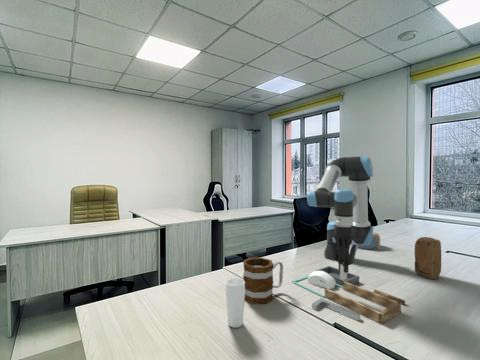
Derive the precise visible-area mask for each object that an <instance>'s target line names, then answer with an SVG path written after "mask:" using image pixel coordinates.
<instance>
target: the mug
mask: <svg viewBox="0 0 480 360" xmlns="http://www.w3.org/2000/svg"><path fill="white" fill-rule="evenodd" d="M242 261H243V276H242V277H243V278H242V280H244V281H245V301H244V302H248V303H250V304H252V305H266V304H267V305H268V304H269V303H270V302H272V301H273V300H274V293H273V289H278V288H280V287H281V286H282V284H283V277H284V276H283V275H284V266H283V265H284V264H283V262H281V261H279V260H277V261H275V262H273V261H272V259H268V258H264V257H250V258H249V257H248V258H247V259H244V260H242ZM278 265H279V272H278V274H279V276H278V282H277V284H274V276H273V275H274V273H273V272H274V271H273V270H274V269H275V268H276V267H277V266H278Z"/></svg>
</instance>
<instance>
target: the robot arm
mask: <svg viewBox="0 0 480 360" xmlns="http://www.w3.org/2000/svg"><path fill="white" fill-rule="evenodd" d="M373 169H374V168H373V162H372V159H371V158H370V157H369V156H347V157H345V156H344V157H338V158H335V159H334V160H332V161H331V162H328V164H327V165H326V166H325V168H324V174H323V176H322V178H321V180H320V182H319V184H318V185H317V187H316V190H315V191H314V190H312V191H309V192H308V193H307V196H306V199H307V200H306V201H307V205H308V206H309V207H315V208H317V207H318V208H332V209H334V215H333V216H334V221H329V222H328V223H327V224H326V225H327V226H326V247H325V249H324V252H323V256H324V258H326V259H327V260H330V261H335V262H337V263H338V269H339V271H340V279H341V280H345V279H347V272H348V273H349V266H351V265H353V264H354V261H355V257H356V253H357V251H358V250H357V249H359V248H358V247H359V244H361V245H370V244H371V241H372V235H373V231H374V229H375V227H374V226H372V224H371V222H370V221H369V216H368V215H369V210H368V208H369V205H368V202H369V201H368V200H369V199H368V182H369V181H371V178H372V177H374V170H373ZM341 177H345V178H346V177H348V181H349V182H350V183H351V184H350V185H351V189H335V191H333V190H334V188H335V186H336V183H337V181H338V179H339V178H341Z"/></svg>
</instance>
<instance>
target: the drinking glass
mask: <svg viewBox="0 0 480 360" xmlns="http://www.w3.org/2000/svg"><path fill="white" fill-rule="evenodd" d="M225 297H226V300H225V301H226V307H227V308H226V310H227V324H228V326H229V327H231V328H234V329H235V328H241V327H242V326H243V325H244V312H245V302H246V301H245V281H244V280H243V278H237V277H235V278H234V277H233V278H230V279H228V280H226V282H225Z"/></svg>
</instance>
